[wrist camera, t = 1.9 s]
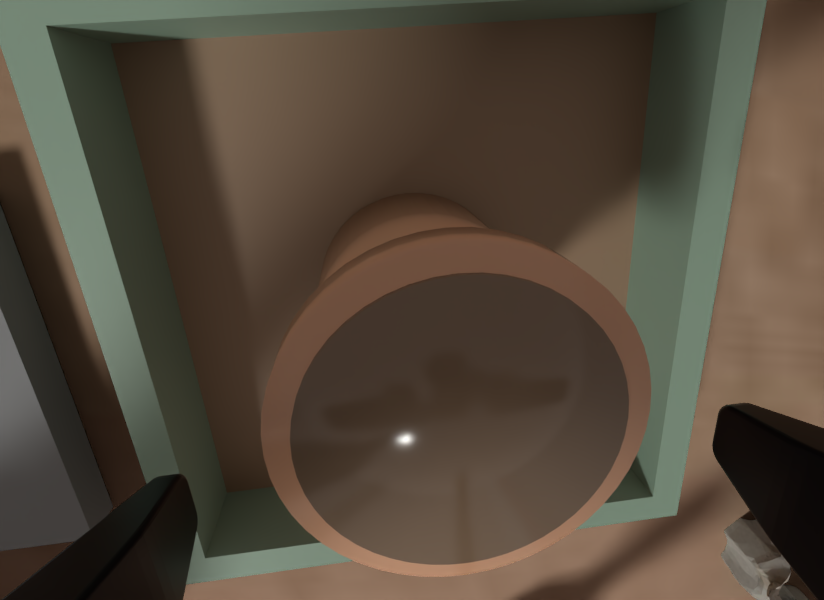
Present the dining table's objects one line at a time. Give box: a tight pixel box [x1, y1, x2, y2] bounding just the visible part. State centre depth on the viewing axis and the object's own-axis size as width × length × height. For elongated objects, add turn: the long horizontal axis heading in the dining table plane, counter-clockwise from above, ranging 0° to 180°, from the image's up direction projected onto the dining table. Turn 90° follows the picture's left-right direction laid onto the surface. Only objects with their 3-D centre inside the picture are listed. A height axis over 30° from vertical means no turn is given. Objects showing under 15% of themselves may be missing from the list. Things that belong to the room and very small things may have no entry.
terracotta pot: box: [261, 193, 651, 577], centre depth 12 cm, size 7×7×8 cm
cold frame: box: [0, 0, 767, 584], centre depth 15 cm, size 17×17×4 cm
